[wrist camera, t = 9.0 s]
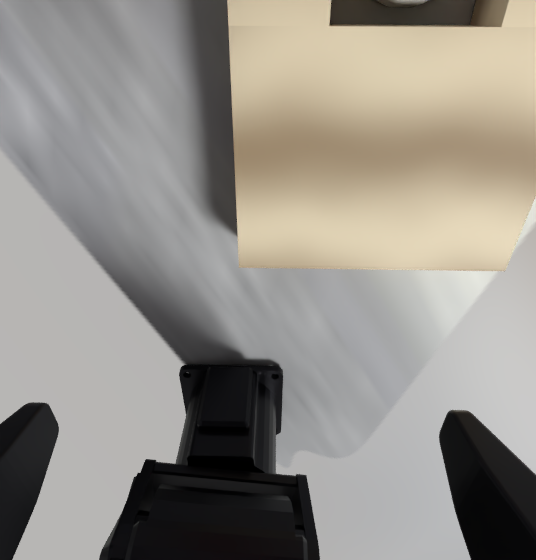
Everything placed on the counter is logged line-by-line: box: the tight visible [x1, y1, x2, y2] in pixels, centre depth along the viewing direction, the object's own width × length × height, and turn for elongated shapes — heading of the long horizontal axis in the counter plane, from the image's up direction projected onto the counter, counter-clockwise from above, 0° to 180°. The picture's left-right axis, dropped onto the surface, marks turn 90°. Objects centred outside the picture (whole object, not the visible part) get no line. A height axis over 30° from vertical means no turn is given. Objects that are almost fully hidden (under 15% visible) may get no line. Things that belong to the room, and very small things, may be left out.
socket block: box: [227, 0, 536, 271], centre depth 14 cm, size 18×12×2 cm, turn 0°
